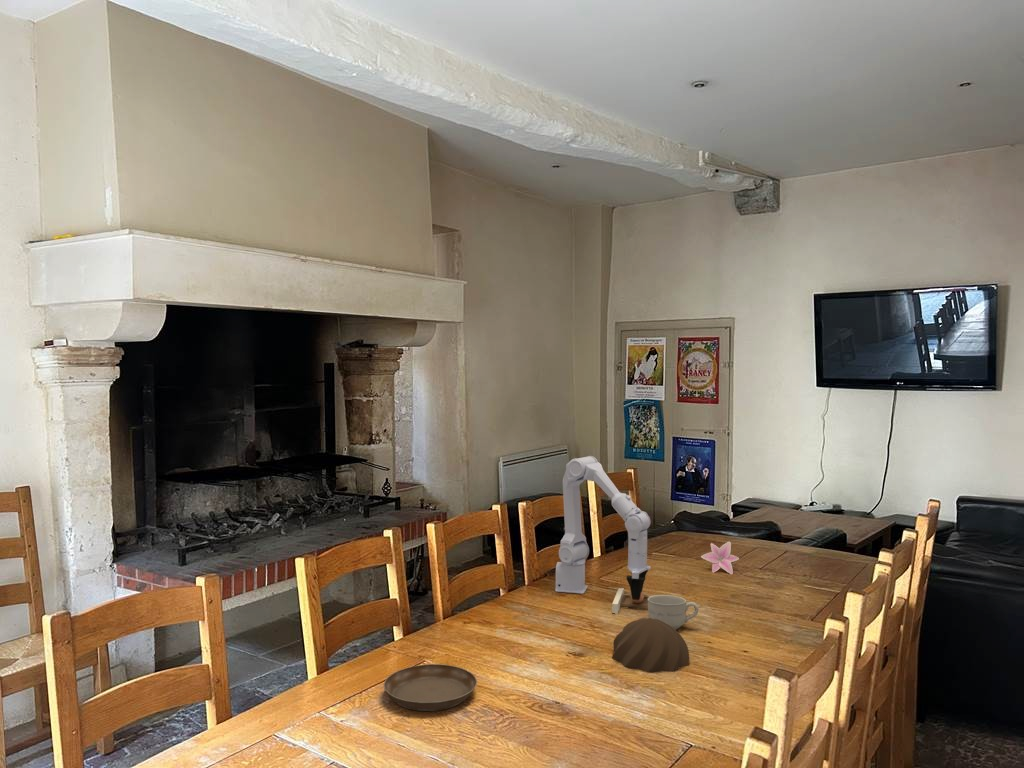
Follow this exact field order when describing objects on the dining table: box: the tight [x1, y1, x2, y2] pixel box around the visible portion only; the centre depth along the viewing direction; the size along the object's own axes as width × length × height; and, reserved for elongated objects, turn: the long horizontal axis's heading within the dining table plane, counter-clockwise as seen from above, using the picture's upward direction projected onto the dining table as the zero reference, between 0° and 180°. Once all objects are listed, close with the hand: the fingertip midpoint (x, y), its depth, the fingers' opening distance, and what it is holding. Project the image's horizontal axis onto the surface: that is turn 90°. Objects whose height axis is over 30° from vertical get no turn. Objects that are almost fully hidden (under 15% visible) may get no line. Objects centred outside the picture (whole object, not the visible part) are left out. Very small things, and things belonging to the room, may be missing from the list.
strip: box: [611, 587, 625, 615], centre depth 228 cm, size 2×16×3 cm, turn 165°
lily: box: [700, 541, 740, 575], centre depth 268 cm, size 12×12×10 cm
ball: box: [630, 591, 645, 604], centre depth 229 cm, size 4×4×4 cm
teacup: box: [647, 594, 699, 630], centre depth 209 cm, size 14×11×8 cm
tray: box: [620, 594, 650, 610], centre depth 230 cm, size 9×9×1 cm
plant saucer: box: [383, 663, 478, 712], centre depth 166 cm, size 21×21×3 cm
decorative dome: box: [611, 617, 690, 674], centre depth 188 cm, size 19×20×10 cm
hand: (637, 595), depth 230 cm, fingers open, 7 cm apart
